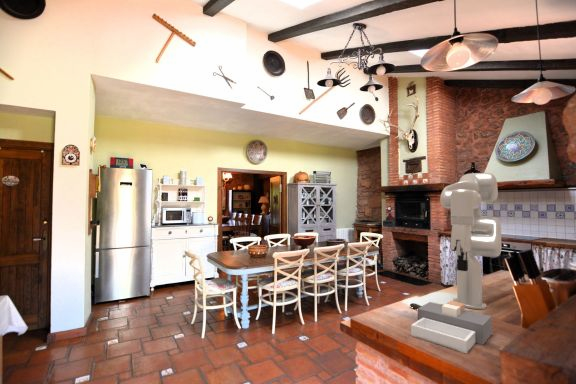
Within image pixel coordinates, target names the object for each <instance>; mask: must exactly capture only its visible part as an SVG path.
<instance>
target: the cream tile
mask: <svg viewBox="0 0 576 384" xmlns="http://www.w3.org/2000/svg"><path fill="white" fill-rule="evenodd" d="M442 305H443V306H442V314H445V315H449V316H453V317H458V316H459V315H460V314H461V307H460V306H455V305H451V304H447V303H445V304H442Z"/></svg>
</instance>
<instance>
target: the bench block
mask: <svg viewBox="0 0 576 384" xmlns="http://www.w3.org/2000/svg"><path fill="white" fill-rule="evenodd" d="M443 305H444V304H442V303H441V304H440V303H436V302H432V301H428V302H427V303H425V304H424V305H420V306H421V307H420V308H418V311H417V321H418V320H420V319H421V318H427V319H430V320H434V321H438V322H442V323H445V324H449V325H453V326H456V327H460V328H464V329H467V330H471V331H475V336H476V343H475V344H479V345H482V346H484V345H485V343H486V342H487V341H488V340H489V339H490V337H491V336H492V335H491V333H493V331H492V330H493V328H492V326H493V325H492V323H493V322H492V320H493V319H492V315H488V314H484V313H481V312H480V313H479V312H474V311H470V310H466V309H465V311H464V312H463V313H461V314H460V315H459V316H458V317H453V316H449V315H445V314H442V306H443ZM490 335H491V336H490ZM489 336H490V337H489ZM487 339H488V340H487Z"/></svg>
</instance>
